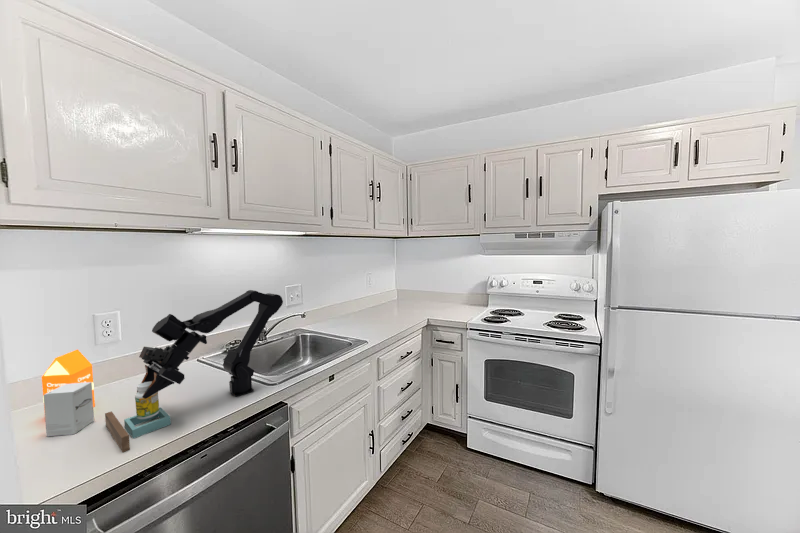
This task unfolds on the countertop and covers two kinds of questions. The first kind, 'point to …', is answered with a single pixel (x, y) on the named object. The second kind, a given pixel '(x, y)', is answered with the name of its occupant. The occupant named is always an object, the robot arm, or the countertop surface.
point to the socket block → (146, 427)
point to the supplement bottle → (146, 402)
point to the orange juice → (68, 372)
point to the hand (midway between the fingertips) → (140, 395)
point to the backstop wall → (117, 431)
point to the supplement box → (68, 408)
